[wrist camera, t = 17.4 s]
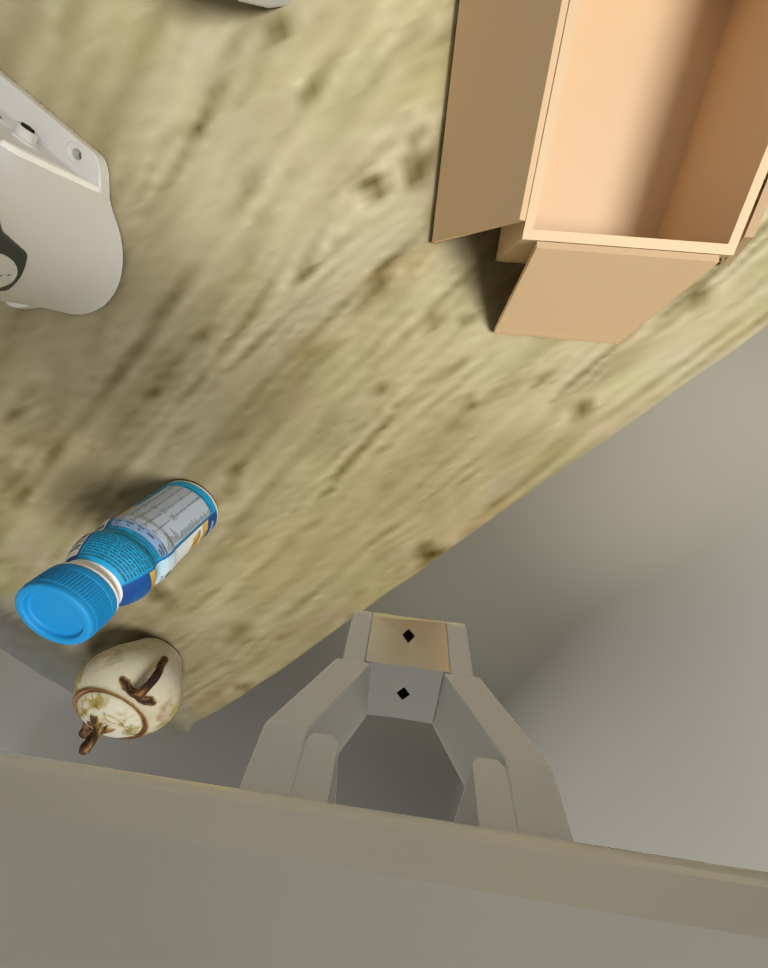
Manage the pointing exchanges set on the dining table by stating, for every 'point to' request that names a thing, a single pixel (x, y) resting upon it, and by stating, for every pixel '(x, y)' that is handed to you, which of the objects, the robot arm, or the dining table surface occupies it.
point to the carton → (605, 151)
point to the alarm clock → (267, 3)
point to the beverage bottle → (117, 563)
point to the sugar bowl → (128, 691)
